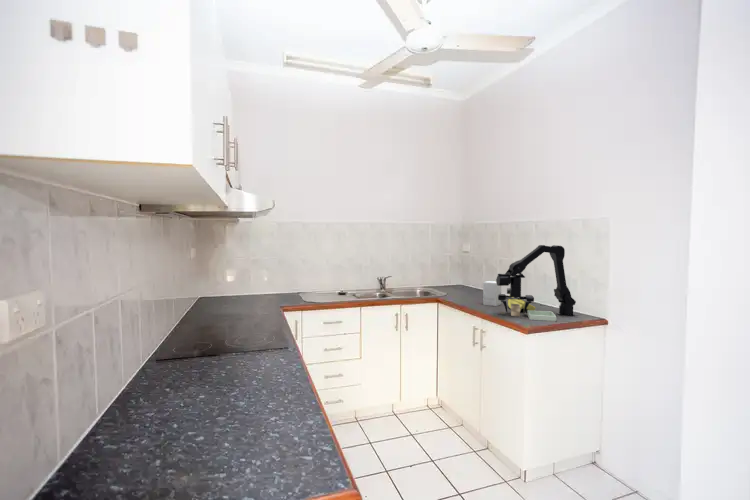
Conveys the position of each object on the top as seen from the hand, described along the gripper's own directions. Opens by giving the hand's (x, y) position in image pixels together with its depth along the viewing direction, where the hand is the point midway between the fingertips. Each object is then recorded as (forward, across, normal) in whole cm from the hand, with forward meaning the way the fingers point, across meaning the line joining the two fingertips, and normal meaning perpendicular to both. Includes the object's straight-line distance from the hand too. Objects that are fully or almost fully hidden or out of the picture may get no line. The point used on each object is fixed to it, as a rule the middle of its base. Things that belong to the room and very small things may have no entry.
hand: (515, 312), depth 210 cm
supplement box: (+2, +12, -29) cm, 31 cm away
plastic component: (+2, -4, -18) cm, 19 cm away
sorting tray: (+1, -13, +4) cm, 14 cm away
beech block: (+1, 0, 0) cm, 1 cm away
